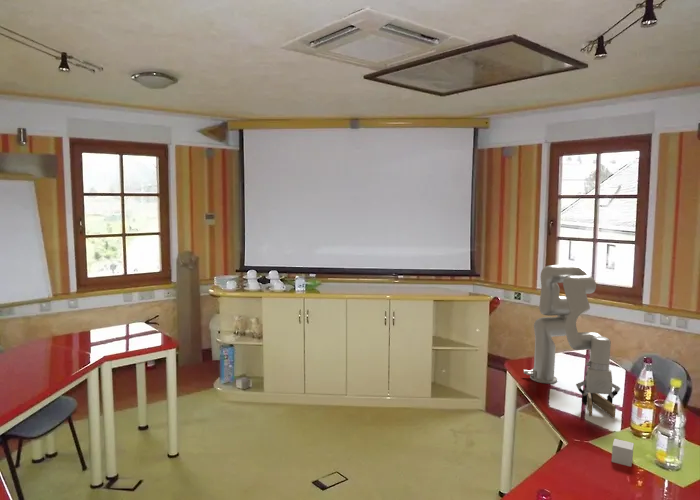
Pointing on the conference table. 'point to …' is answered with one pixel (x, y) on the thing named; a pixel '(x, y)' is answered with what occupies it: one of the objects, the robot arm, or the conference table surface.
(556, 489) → the conference table surface
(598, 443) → the conference table surface
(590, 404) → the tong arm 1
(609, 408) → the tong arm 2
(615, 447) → the grey cube
